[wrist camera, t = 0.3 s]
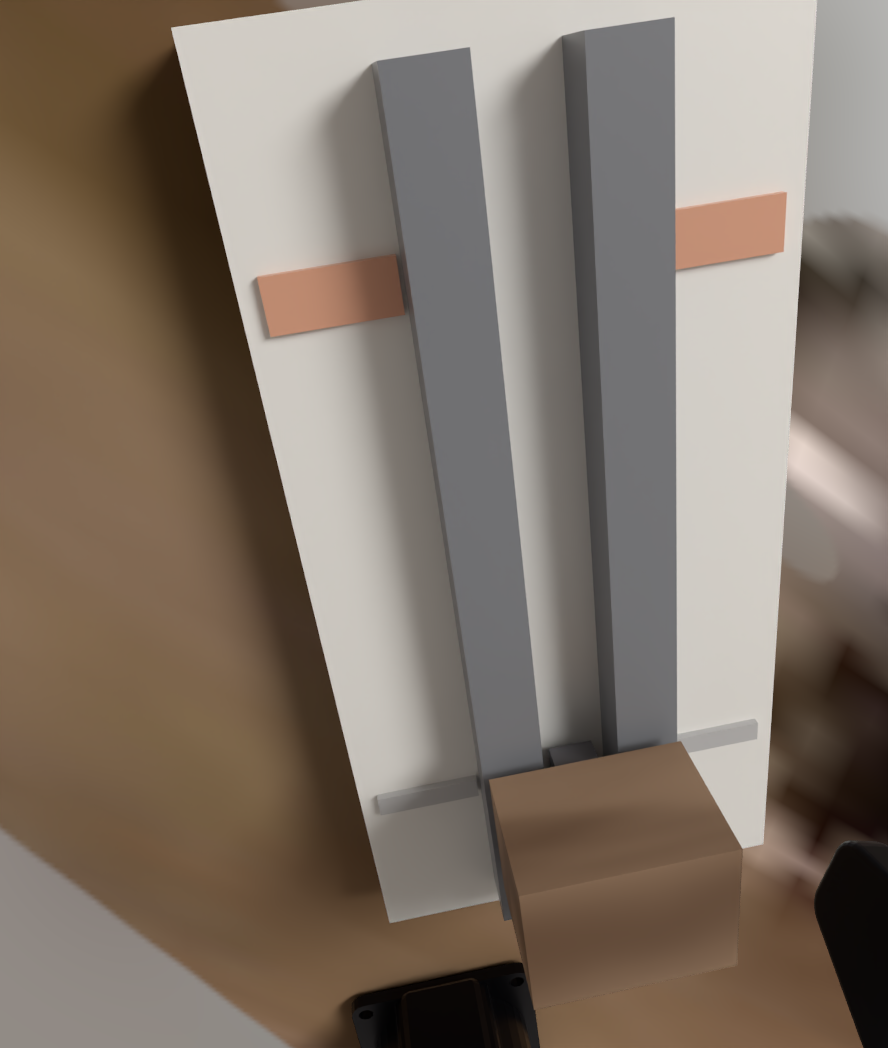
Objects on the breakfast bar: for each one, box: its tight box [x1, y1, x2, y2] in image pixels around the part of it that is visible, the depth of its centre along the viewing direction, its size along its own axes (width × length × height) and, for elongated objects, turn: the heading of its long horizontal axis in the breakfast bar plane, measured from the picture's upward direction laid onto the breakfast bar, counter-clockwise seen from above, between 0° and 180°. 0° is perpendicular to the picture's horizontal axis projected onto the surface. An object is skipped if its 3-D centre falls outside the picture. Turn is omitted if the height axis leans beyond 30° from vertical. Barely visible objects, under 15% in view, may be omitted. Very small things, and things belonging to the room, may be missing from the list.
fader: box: [489, 740, 743, 1010], centre depth 22 cm, size 4×5×5 cm
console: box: [171, 0, 817, 923], centre depth 21 cm, size 24×12×4 cm, turn 7°
